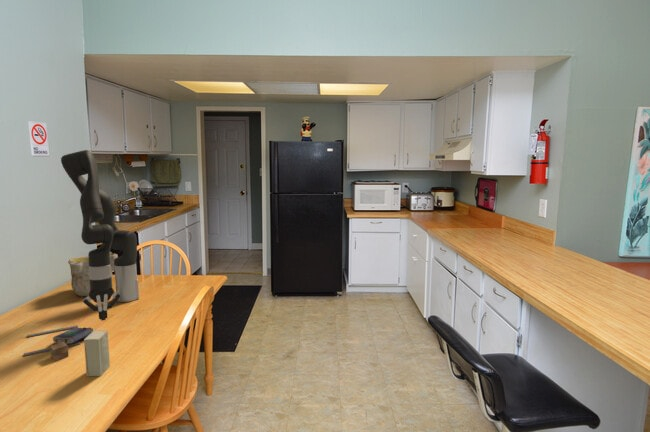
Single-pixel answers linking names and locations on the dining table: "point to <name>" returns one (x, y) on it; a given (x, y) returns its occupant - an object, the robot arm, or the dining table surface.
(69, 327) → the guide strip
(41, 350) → the guide strip
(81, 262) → the ceramic vessel
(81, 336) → the flask
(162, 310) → the dining table surface
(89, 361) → the skincare box
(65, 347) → the walnut cube
